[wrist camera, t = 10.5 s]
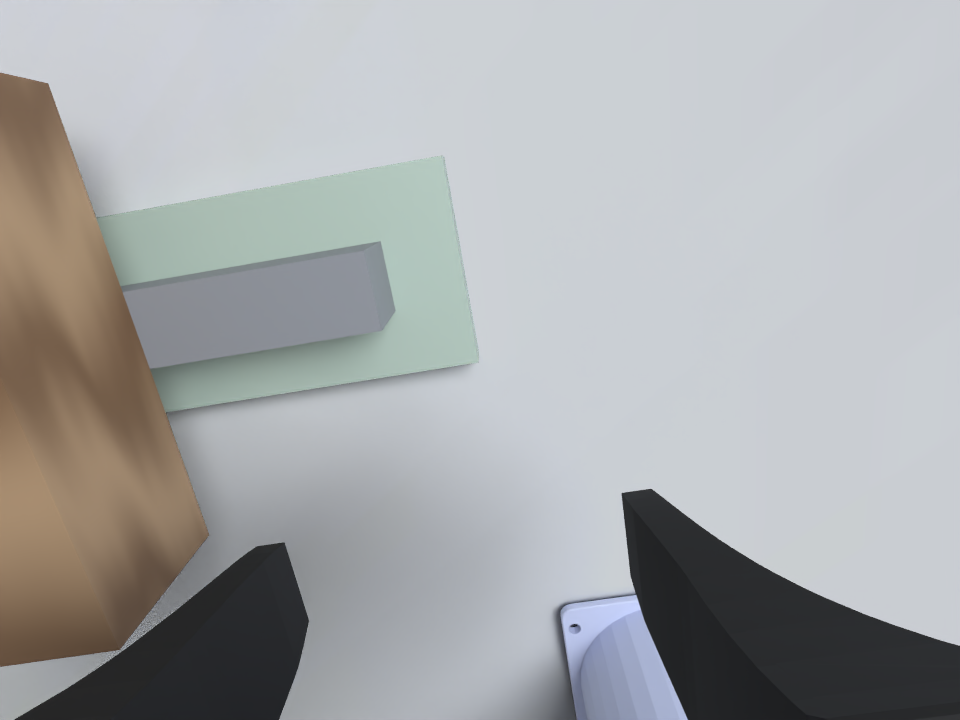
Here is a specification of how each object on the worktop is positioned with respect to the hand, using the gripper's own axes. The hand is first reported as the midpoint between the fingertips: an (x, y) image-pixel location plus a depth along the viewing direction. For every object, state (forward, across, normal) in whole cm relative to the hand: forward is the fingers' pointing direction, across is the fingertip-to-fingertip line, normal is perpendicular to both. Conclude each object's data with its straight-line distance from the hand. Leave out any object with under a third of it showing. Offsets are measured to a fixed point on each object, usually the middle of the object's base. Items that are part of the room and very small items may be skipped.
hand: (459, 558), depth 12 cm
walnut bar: (+6, +11, -5) cm, 13 cm away
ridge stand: (+10, +9, -5) cm, 15 cm away
